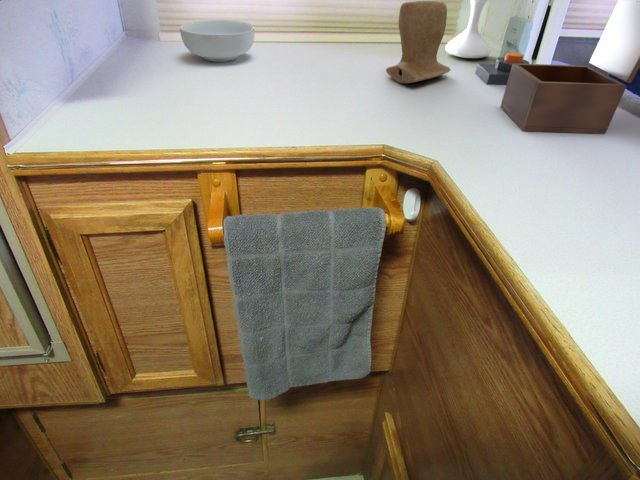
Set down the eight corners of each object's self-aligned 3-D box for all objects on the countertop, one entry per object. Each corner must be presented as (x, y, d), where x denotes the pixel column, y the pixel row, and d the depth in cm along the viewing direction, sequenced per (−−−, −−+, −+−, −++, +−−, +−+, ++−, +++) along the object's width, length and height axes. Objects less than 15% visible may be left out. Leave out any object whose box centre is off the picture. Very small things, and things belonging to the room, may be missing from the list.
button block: (526, 75, 98) (532, 56, 95) (542, 86, 90) (549, 67, 88) (475, 73, 97) (479, 54, 95) (486, 84, 90) (491, 65, 88)
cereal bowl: (169, 61, 98) (163, 27, 94) (210, 47, 111) (207, 17, 107) (232, 70, 93) (228, 36, 89) (268, 55, 106) (266, 23, 102)
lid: (685, -29, 56) (690, -28, 56) (634, -35, 65) (639, -34, 65) (626, 82, 65) (631, 83, 65) (588, 62, 74) (593, 63, 74)
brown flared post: (412, 66, 101) (423, -6, 92) (455, 77, 94) (472, 0, 85) (370, 77, 93) (378, -2, 84) (414, 90, 86) (428, 6, 77)
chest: (523, 131, 69) (539, 82, 65) (500, 107, 79) (512, 63, 74) (605, 134, 70) (627, 85, 65) (572, 109, 79) (589, 65, 74)
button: (517, 60, 93) (520, 52, 92) (523, 65, 90) (526, 56, 89) (501, 60, 93) (503, 51, 92) (507, 64, 90) (509, 55, 89)
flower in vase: (497, 61, 107) (529, -60, 92) (456, 62, 105) (482, -61, 90) (471, 49, 117) (496, -61, 103) (433, 50, 115) (453, -63, 100)
